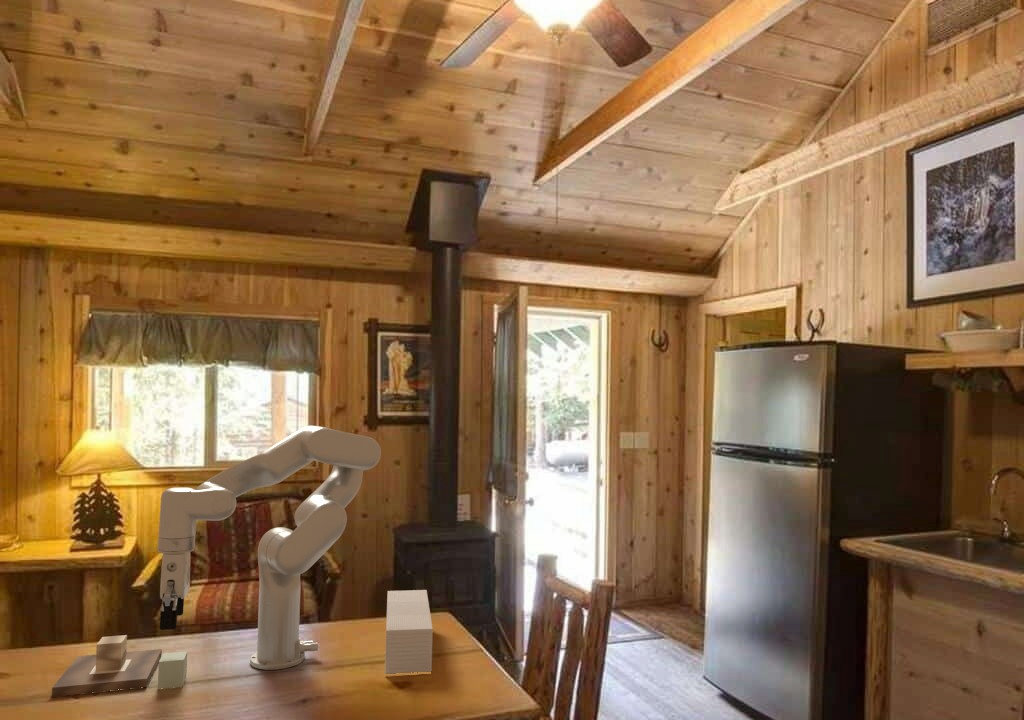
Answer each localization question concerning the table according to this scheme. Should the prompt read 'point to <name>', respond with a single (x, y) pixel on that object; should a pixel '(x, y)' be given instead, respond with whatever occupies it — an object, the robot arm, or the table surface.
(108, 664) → the maple block
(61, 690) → the walnut board
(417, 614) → the stack of papers
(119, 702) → the table surface
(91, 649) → the table surface
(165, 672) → the sage block
